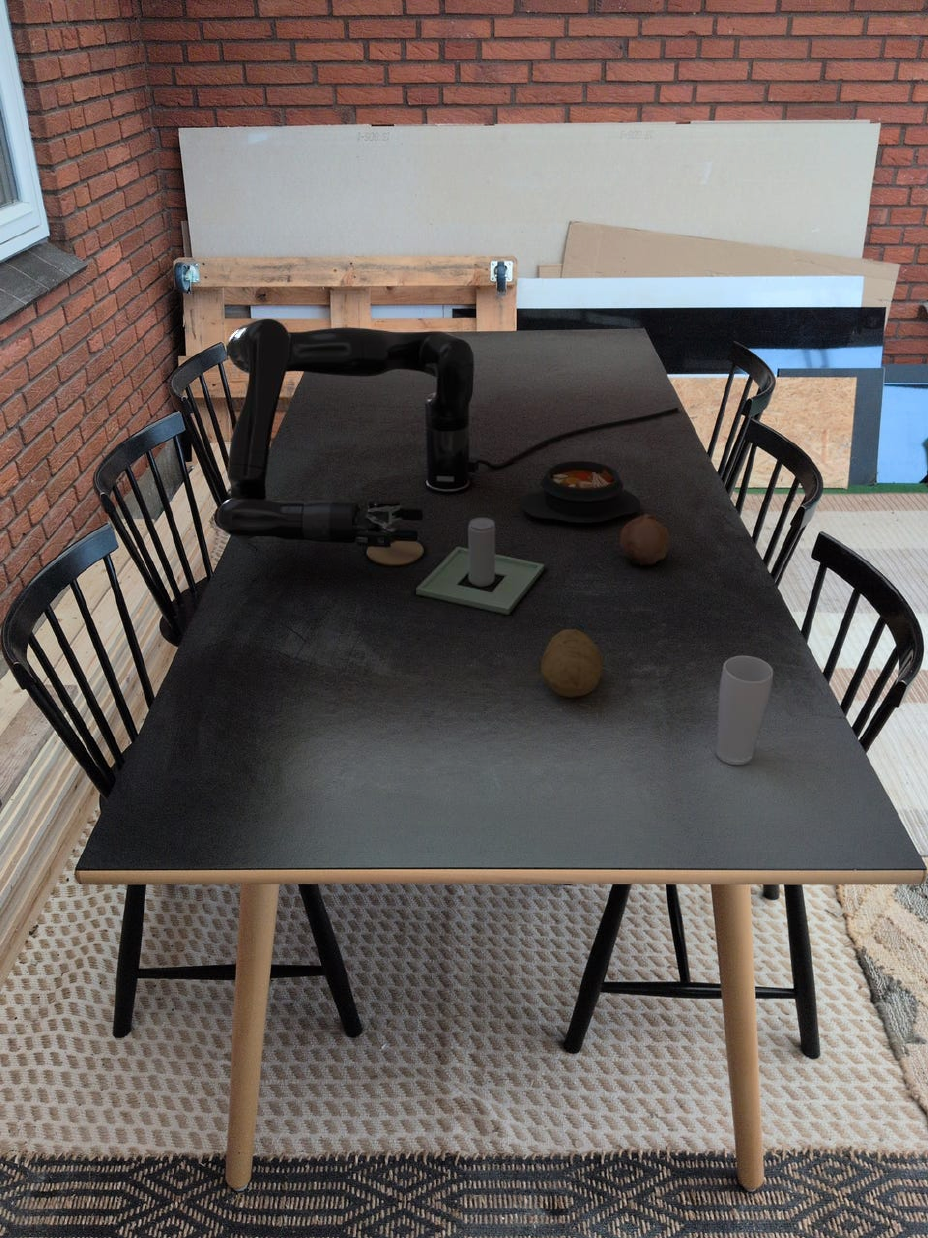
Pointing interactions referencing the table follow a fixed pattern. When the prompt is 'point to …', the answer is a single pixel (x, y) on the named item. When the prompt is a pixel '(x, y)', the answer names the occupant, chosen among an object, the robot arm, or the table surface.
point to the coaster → (396, 553)
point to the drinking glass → (742, 706)
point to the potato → (571, 664)
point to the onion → (644, 540)
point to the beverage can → (481, 551)
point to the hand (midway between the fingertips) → (420, 524)
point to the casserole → (580, 494)
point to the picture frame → (500, 600)
